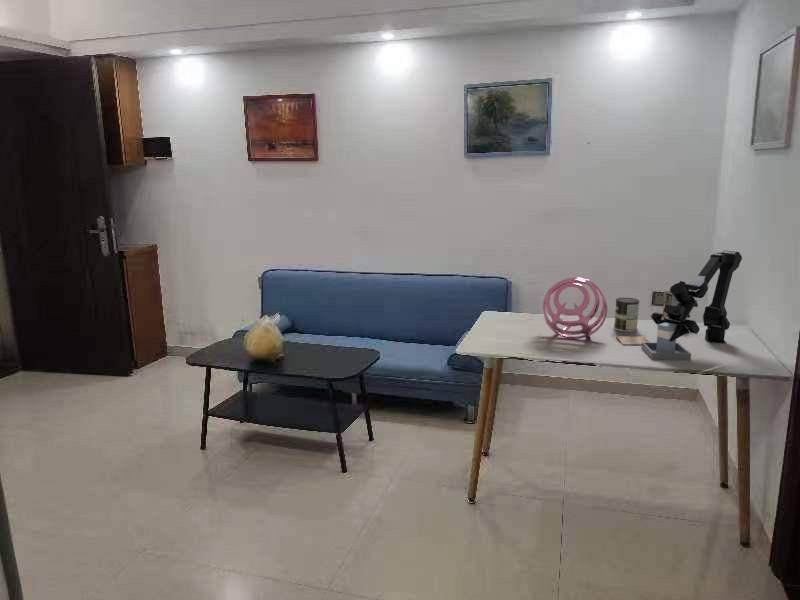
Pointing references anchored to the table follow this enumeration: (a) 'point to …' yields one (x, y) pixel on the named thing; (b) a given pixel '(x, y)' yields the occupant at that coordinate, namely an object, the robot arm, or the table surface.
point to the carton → (665, 338)
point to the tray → (678, 355)
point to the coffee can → (626, 314)
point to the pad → (631, 340)
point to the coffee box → (669, 301)
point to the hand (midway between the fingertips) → (664, 339)
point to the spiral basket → (577, 311)
